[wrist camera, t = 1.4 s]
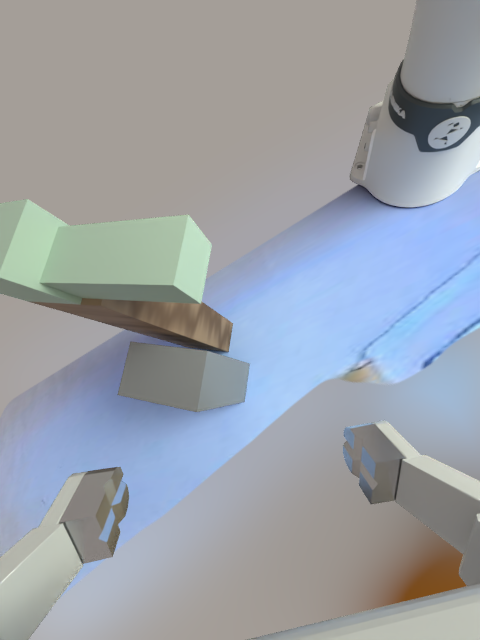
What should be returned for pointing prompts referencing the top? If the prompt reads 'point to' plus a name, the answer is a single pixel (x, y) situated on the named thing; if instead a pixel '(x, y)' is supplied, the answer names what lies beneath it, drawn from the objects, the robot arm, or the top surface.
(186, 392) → the gray block
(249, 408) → the top surface
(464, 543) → the robot arm
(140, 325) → the walnut stand
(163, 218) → the green handle
